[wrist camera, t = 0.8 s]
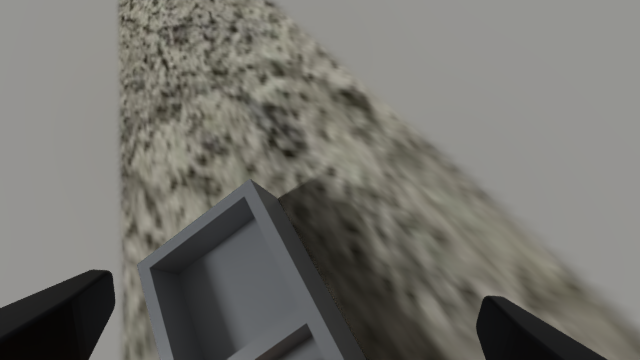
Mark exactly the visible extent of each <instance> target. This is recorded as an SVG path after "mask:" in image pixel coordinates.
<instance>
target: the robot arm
mask: <svg viewBox="0 0 640 360" xmlns="http://www.w3.org/2000/svg"><path fill="white" fill-rule="evenodd" d="M114 306H115V292H114V284H113V276H112V273H111V272H110V271H107V270H89V271H87V272H85V273H82V274H80V275H78V276H75V277H73V278H71V279H68V280H66V281H63V282H61V283H59V284H56V285H54V286H52V287H49V288H47V289H45V290H42V291H40V292H38V293H35V294H33V295H30V296H28V297H26V298H23V299H21V300H18V301H16V302H14V303H11V304H9V305H7V306H5V307H2V308H0V360H89V358H90V356H91V354H92V352H93V350H94V348H95V346H96V344H97V342H98V339H99V338H100V336H101V334H102V332H103V330H104V327H105V326H106V324H107V322H108V320H109V318H110V316H111V314H112V312H113V310H114ZM476 330H477V335H478V338H479V341H480V344H481V347H482V350H483V353H484V356H485V359H486V360H607V359H605V358H604V357H602V356H600V355H599V354H597V353H596V352H594V351H592V350H591V349H589V348H587V347H586V346H584V345H582V344H581V343H579V342H577V341H576V340H574V339H572V338H571V337H569V336H567V335H566V334H564V333H562V332H561V331H559V330H557V329H556V328H554V327H552V326H551V325H549V324H547V323H546V322H544V321H542V320H541V319H539V318H537V317H536V316H534V315H532V314H531V313H529V312H527V311H526V310H524V309H522V308H521V307H519V306H517V305H516V304H514V303H512V302H511V301H509V300H507V299H506V298H504V297H501V296H486V297H484V299H483V301H482V304H481V308H480V312H479V315H478V319H477V323H476Z"/></svg>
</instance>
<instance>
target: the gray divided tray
mask: <svg viewBox="0 0 640 360" xmlns="http://www.w3.org/2000/svg"><path fill="white" fill-rule="evenodd" d="M137 267H138V271H139V275H140V280H141V284H142V288H143V292H144V296H145V300H146V304H147V308H148V312H149V316H150V320H151V324H152V328H153V332H154V337H155V341H156V345H157V349H158V353H159V357H160V360H366V358H365V356H364V354H363V352H362V351H361V349H360V347H359V345H358V343H357V341H356V340H355V338H354V336H353V334H352V332H351V331H350V329H349V327H348V325H347V323H346V322H345V320H344V318H343V316H342V314H341V313H340V311H339V309H338V307H337V305H336V304H335V302H334V300H333V298H332V296H331V294H330V293H329V291H328V289H327V287H326V285H325V284H324V282H323V280H322V278H321V276H320V275H319V273H318V271H317V269H316V267H315V266H314V264H313V262H312V260H311V258H310V257H309V255H308V253H307V251H306V249H305V247H304V246H303V244H302V242H301V240H300V238H299V237H298V235H297V233H296V231H295V229H294V228H293V226H292V224H291V222H290V220H289V219H288V217H287V215H286V213H285V211H284V210H283V208H282V206H281V204H280V202H279V200H278V199H277V198H276V197H275V196H273V195H272V194H271V193H269V192H268V191H266V190H265V189H264V188H262V187H261V186H259V185H258V184H257V183H255V182H254V181H252V180H251V179H249V180H248V181H246V182H245V183H244V184H242V185H241V186H240V187H239V188H237V189H236V190H235V191H233V192H232V193H231V194H229V195H228V196H227V197H225V198H224V199H223V200H221V201H220V202H219V203H217V204H216V205H215V206H213V207H212V208H211V209H210V210H208V211H207V212H206V213H204V214H203V215H202V216H200V217H199V218H198V219H196V220H195V221H194V222H192V223H191V224H190V225H188V226H187V227H186V228H184V229H183V230H182V231H181V232H179V233H178V234H177V235H175V236H174V237H173V238H171V239H170V240H169V241H167V242H166V243H165V244H163V245H162V246H161V247H159V248H158V249H157V250H155V251H154V252H153V253H152V254H150V255H149V256H148V257H146V258H145V259H144V260H142V261H141V262H140V263H138V264H137Z"/></svg>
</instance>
